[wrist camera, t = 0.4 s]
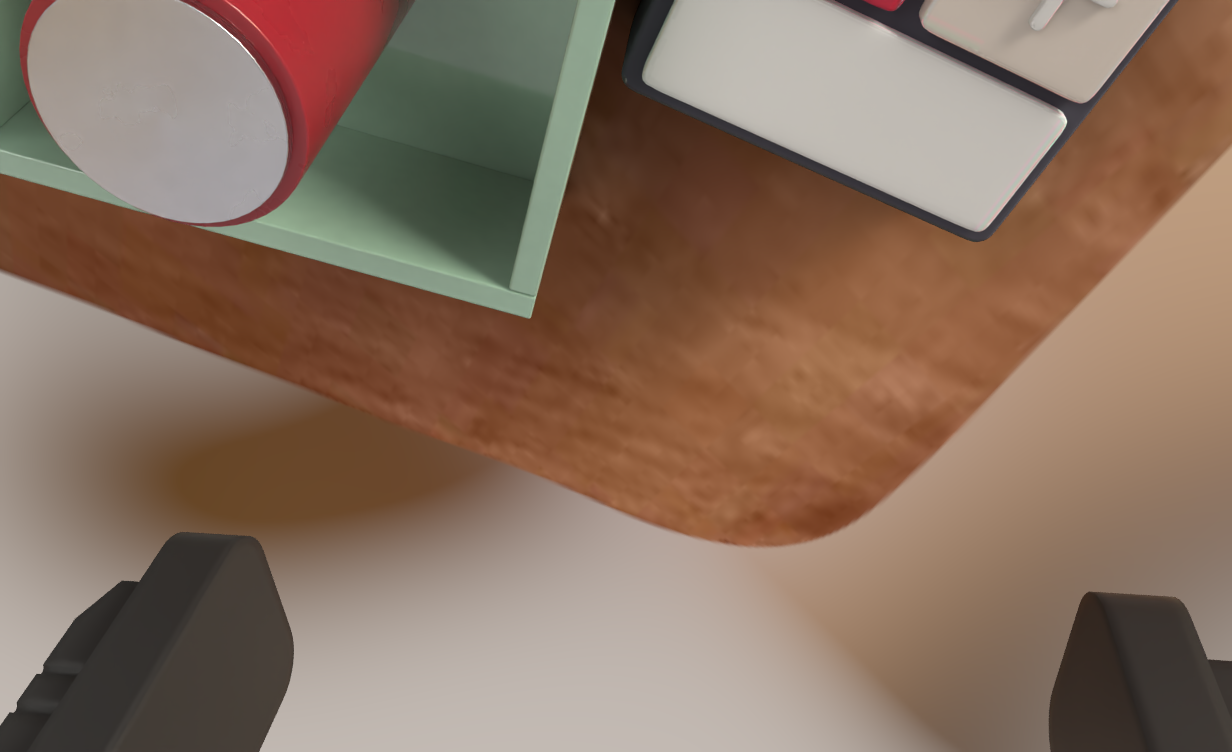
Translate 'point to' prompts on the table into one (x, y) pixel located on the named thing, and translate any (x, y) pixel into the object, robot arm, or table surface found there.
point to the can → (199, 94)
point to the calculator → (895, 87)
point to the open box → (412, 149)
